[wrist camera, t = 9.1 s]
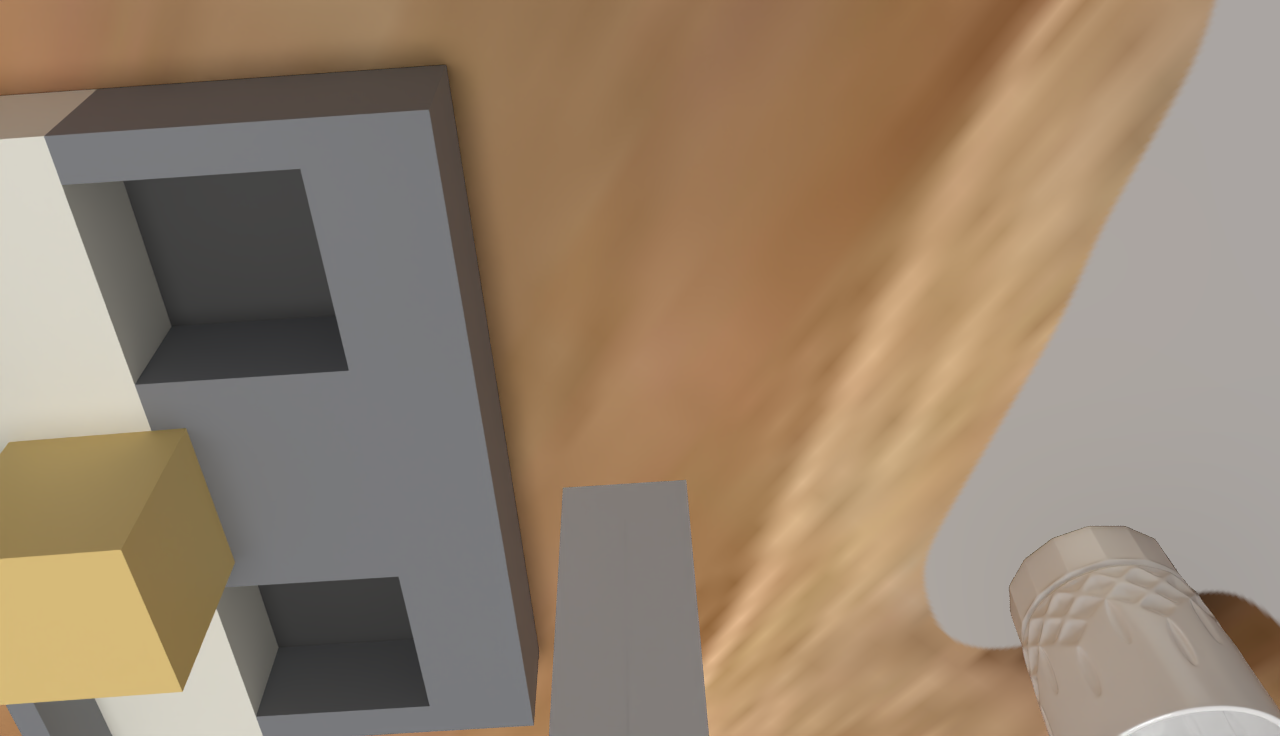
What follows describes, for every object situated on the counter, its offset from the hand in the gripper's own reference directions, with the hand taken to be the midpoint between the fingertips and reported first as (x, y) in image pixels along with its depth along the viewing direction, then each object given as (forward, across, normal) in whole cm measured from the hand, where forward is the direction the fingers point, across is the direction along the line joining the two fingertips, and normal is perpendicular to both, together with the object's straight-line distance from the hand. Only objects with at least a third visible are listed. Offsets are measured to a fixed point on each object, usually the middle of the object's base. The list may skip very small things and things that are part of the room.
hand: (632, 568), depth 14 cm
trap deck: (+24, -14, -14) cm, 32 cm away
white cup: (+25, +18, -25) cm, 39 cm away
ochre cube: (+20, -18, -14) cm, 31 cm away
